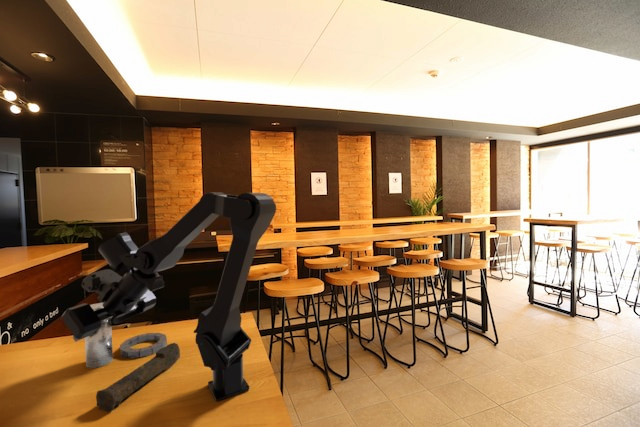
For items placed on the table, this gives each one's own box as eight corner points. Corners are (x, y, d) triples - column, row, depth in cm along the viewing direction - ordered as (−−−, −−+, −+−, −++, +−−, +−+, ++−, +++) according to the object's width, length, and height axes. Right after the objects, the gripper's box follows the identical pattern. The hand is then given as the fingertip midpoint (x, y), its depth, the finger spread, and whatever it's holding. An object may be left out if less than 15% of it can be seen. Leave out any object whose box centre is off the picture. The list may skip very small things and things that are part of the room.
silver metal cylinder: (112, 363, 70) (110, 307, 69) (85, 370, 67) (82, 312, 66) (112, 354, 74) (110, 301, 73) (86, 360, 71) (84, 305, 70)
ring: (169, 350, 76) (168, 344, 76) (120, 362, 70) (120, 356, 70) (163, 334, 84) (163, 329, 84) (120, 344, 79) (119, 339, 78)
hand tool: (111, 416, 54) (110, 390, 53) (94, 410, 55) (93, 385, 55) (189, 360, 72) (188, 341, 71) (175, 357, 73) (174, 338, 73)
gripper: (145, 251, 77) (113, 291, 80) (65, 269, 59) (28, 319, 63) (172, 285, 75) (138, 324, 79) (98, 314, 57) (58, 362, 61)
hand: (95, 330), depth 70 cm, fingers open, 9 cm apart
